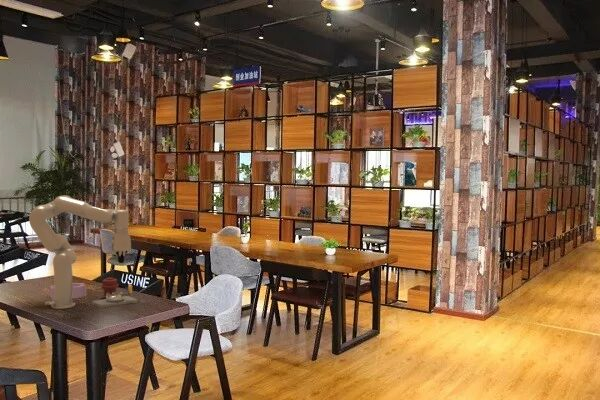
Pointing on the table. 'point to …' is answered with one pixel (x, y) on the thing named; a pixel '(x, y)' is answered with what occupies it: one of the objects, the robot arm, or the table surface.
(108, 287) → the mechanical component
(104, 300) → the base plate
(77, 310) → the table surface
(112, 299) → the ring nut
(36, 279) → the table surface
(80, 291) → the pink rectangular box
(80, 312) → the table surface
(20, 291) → the table surface
